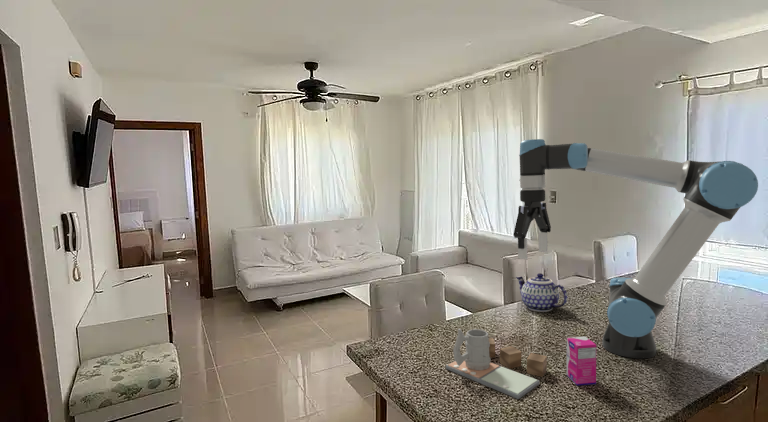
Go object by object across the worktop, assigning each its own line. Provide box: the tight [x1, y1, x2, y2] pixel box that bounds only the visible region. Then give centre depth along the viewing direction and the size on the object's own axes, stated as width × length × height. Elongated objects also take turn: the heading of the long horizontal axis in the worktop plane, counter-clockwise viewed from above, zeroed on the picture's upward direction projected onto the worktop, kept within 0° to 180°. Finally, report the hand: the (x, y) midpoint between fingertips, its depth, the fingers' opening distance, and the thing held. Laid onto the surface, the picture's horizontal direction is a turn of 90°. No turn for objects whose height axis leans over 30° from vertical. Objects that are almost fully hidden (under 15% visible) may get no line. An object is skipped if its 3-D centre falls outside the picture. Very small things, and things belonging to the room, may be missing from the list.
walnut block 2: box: [499, 345, 522, 370], centre depth 130 cm, size 4×4×4 cm
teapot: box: [515, 272, 568, 313], centre depth 180 cm, size 25×15×15 cm, turn 30°
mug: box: [452, 328, 492, 370], centre depth 126 cm, size 8×12×12 cm, turn 111°
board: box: [445, 360, 540, 400], centre depth 123 cm, size 24×11×1 cm, turn 42°
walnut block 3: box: [526, 352, 548, 378], centre depth 125 cm, size 4×4×4 cm
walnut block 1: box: [489, 337, 496, 358], centre depth 137 cm, size 4×4×4 cm
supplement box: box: [566, 336, 597, 387], centre depth 119 cm, size 6×6×12 cm
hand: (533, 255), depth 137 cm, fingers open, 13 cm apart
